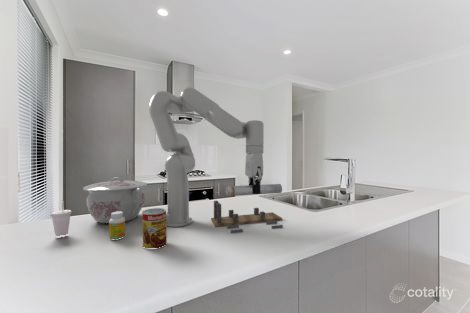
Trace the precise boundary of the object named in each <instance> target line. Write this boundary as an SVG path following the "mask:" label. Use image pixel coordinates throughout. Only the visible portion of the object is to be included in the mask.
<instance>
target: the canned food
mask: <svg viewBox="0 0 470 313" xmlns="http://www.w3.org/2000/svg"><path fill="white" fill-rule="evenodd" d="M141 213H142V214H141V215H142V220H141V221H142V227H141V228H142V248H143V247H145V248H159V247H162V246H164V245H166V246H167V244H166V243H167V238H168V236H167V226H166V214H167V209H166V208H159V207H158V208H157V207H156V208H149V209H145V210H143V211H142V212H141ZM164 247H165V246H164ZM162 248H163V247H162Z"/></svg>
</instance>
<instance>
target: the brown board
mask: <svg viewBox="0 0 470 313" xmlns="http://www.w3.org/2000/svg"><path fill="white" fill-rule="evenodd" d="M210 221H211V222H212V225H213V226H214V227H215V228H219V227H220V228H221V227H227V226H232V225H239V226H240V225H250V224H259V223H260V224H261V223H266V222H271V221H277V222H278V221H279V222H280V221H283V217H281V216H279V215H278V214H276V213H274V212H265V211H263V210H262V211H260V208H259V207H254V208H253V213H251V214H240V215H239V213H235V212H234V210H233V209H228V216H227V215H226V216H222V204H221V203H220V202H219V201H218V200H213V217H211V218H210Z"/></svg>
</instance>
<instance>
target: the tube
mask: <svg viewBox="0 0 470 313" xmlns="http://www.w3.org/2000/svg"><path fill="white" fill-rule="evenodd" d="M282 186H283V185H282V184H280V183H275V184H274V183H273V184H272V183H271V184H260V194H259V195H269V194H270V195H271V194H272V195H273V194H281V193H282V192H283V187H282ZM225 193H226V197H234V196H253V195H256V194H253V185H249V184H246V185H245V184H244V185H227V186H226V188H225Z"/></svg>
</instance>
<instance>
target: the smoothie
mask: <svg viewBox="0 0 470 313" xmlns="http://www.w3.org/2000/svg"><path fill="white" fill-rule="evenodd" d="M64 202H65V201H64V200H61V209H59V210H55V211H53V212H51V213H50V217H51V220H52V224H53V230H54V236H55V235H56V236H60V235H66V234H68V235H69V230H70V220H71V214H72V210H71V209H64V208H65V207H64V204H65V203H64ZM56 236H55V237H56Z"/></svg>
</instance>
